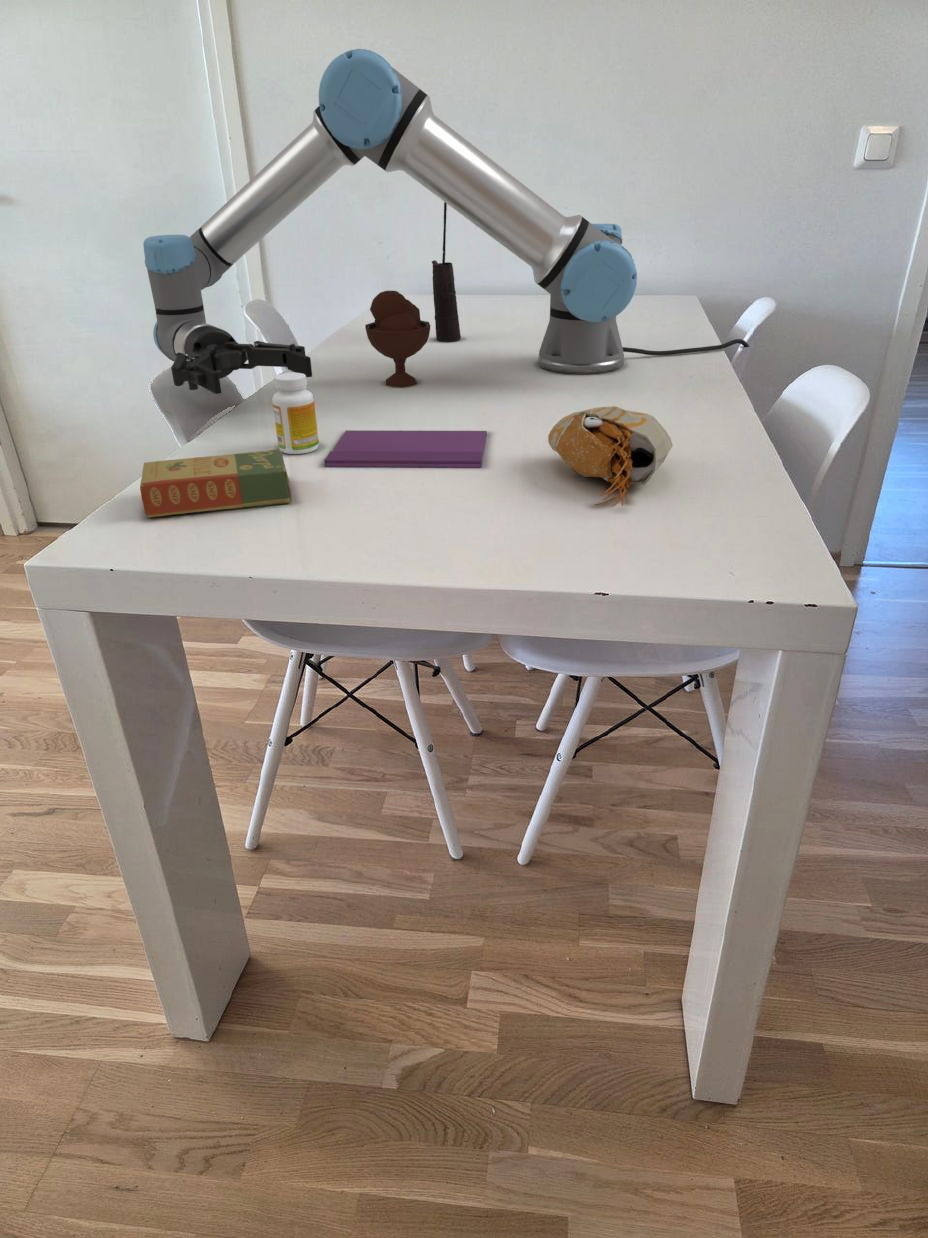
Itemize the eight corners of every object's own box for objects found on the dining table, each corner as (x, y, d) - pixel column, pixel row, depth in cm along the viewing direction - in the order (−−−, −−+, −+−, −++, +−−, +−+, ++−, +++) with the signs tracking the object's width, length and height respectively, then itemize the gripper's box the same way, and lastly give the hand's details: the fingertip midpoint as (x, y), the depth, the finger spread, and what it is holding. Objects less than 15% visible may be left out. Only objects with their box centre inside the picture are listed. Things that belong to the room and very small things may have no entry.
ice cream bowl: (425, 392, 138) (421, 295, 130) (360, 389, 140) (352, 294, 132) (439, 376, 147) (436, 284, 139) (378, 374, 149) (372, 284, 141)
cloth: (486, 433, 118) (486, 427, 117) (481, 467, 106) (481, 461, 105) (346, 433, 119) (345, 427, 119) (324, 466, 107) (324, 460, 107)
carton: (150, 494, 100) (142, 459, 98) (286, 479, 103) (282, 445, 101) (146, 520, 93) (138, 483, 91) (292, 503, 96) (288, 467, 94)
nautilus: (667, 525, 90) (528, 521, 94) (673, 450, 107) (556, 449, 111) (670, 456, 86) (525, 454, 89) (676, 388, 103) (555, 390, 107)
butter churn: (414, 337, 176) (407, 187, 162) (455, 332, 179) (452, 185, 165) (431, 345, 169) (425, 188, 155) (474, 340, 172) (472, 186, 158)
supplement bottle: (326, 444, 115) (318, 372, 110) (307, 456, 111) (298, 382, 106) (291, 440, 117) (282, 369, 112) (271, 452, 112) (261, 379, 107)
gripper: (283, 362, 139) (346, 387, 124) (132, 388, 126) (181, 419, 111) (277, 314, 135) (341, 334, 120) (120, 336, 123) (170, 361, 108)
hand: (264, 375), depth 116 cm, fingers open, 13 cm apart
